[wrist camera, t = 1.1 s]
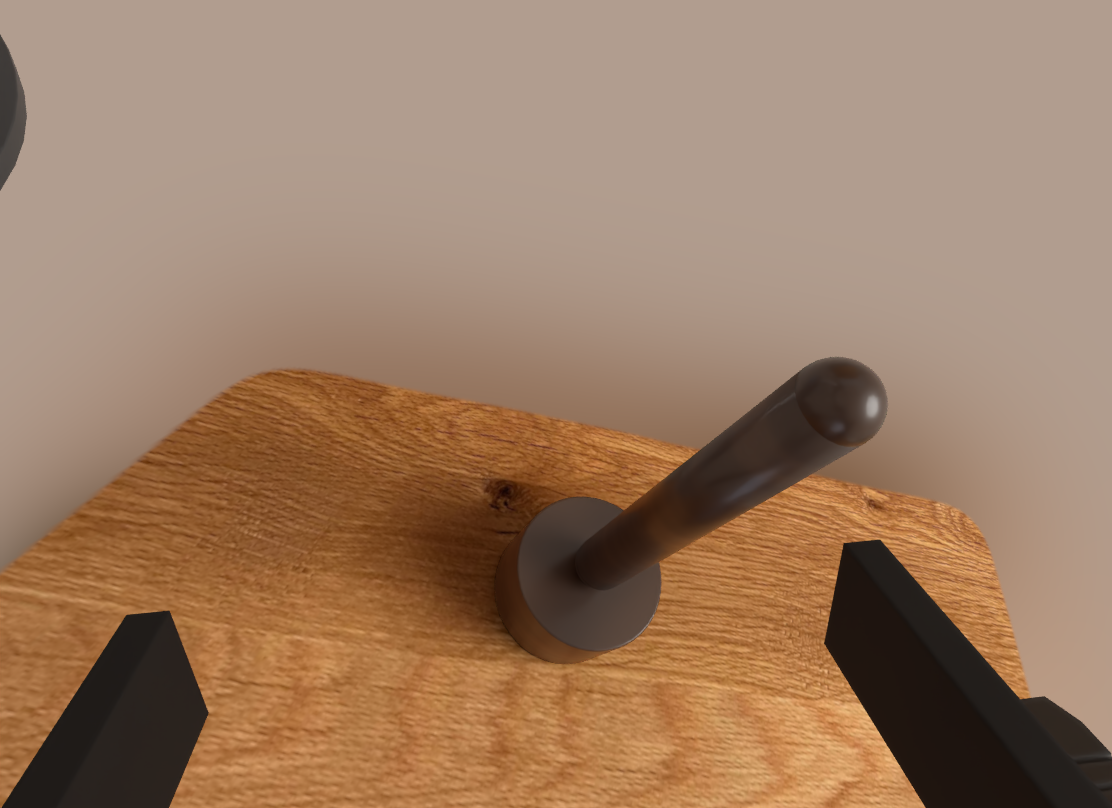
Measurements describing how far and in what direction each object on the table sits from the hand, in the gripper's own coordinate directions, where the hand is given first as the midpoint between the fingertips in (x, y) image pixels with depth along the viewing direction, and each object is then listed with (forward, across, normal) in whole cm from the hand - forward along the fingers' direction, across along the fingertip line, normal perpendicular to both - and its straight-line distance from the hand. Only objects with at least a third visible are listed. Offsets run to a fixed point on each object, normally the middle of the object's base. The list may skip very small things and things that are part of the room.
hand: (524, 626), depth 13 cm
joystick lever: (+12, +2, -10) cm, 16 cm away
